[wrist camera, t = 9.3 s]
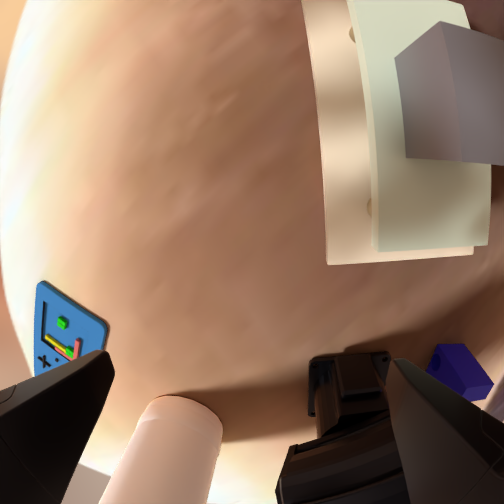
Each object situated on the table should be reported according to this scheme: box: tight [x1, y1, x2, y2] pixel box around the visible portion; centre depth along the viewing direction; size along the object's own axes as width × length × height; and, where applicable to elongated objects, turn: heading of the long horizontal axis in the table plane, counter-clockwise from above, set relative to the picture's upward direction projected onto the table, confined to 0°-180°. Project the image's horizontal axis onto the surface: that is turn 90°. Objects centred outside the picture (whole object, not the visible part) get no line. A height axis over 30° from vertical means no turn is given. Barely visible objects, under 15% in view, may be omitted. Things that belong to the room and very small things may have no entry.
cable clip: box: [426, 344, 494, 402], centre depth 20 cm, size 12×4×6 cm, turn 175°
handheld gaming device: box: [34, 281, 107, 376], centre depth 25 cm, size 8×1×15 cm
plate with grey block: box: [347, 0, 504, 252], centre depth 10 cm, size 7×14×6 cm, turn 5°
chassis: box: [301, 0, 474, 265], centre depth 14 cm, size 18×11×4 cm, turn 5°
